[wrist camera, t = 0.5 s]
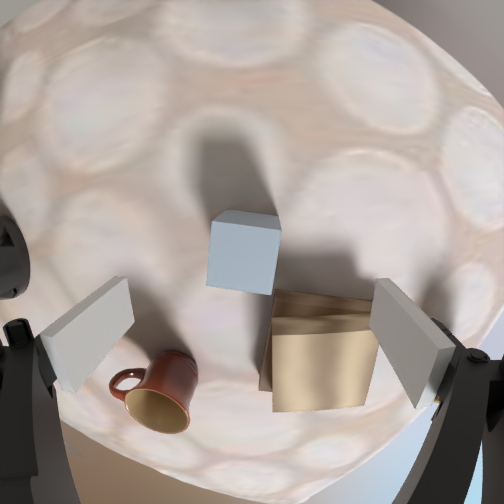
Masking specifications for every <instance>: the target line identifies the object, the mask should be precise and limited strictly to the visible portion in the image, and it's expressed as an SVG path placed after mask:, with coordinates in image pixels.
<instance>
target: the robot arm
mask: <svg viewBox="0 0 504 504" xmlns="http://www.w3.org/2000/svg"><path fill="white" fill-rule="evenodd" d="M29 279H30V263H29V256H28V251H27V248H26V244H25V242H24V239H23V237H22V234H21V232H20V231H19V229H18V227H17V226H16V224H15V223H14V222H13V221H12V220H11V219H10V218H8V217H6V216H0V300H4V299H12V298H15V297H17V296H19V295H20V294H22V293H23V292H25V290H26V289H27V287H28V284H29ZM134 322H135V320H134V315H133V310H132V305H131V299H130V294H129V288H128V282H127V277H118V276H115V277H114V278H112V279H111V280H110V281H108V282H107V283H105V284H104V285H103V286H101V287H100V288H99V289H97V290H96V291H94V292H93V293H92V294H90V295H89V296H88V297H86V298H85V299H84V300H82V301H81V302H80V303H78V304H77V305H76V306H74V307H73V308H72V309H71V310H69V311H68V312H67V313H65V314H64V315H63V316H61V317H60V318H59V319H58V320H56V321H55V322H54V323H52V324H51V325H50V326H49V327H47V328H46V329H45V330H44V331H42V332H41V333H40V334H39V335H38V336H36V337H35V338H34V337H33V334H32V331H31V328H30V325H29V322H28V320H27V319H23V318H20V319H15V320H12V321H10V322H8V323H7V324H5V325H4V327H3V331H4V333H5V336H6V339H7V341H8V344H9V346H3V344H2V342H1V339H0V504H81V503H80V500H79V497H78V494H77V492H76V488H75V485H74V481H73V478H72V475H71V471H70V467H69V463H68V459H67V455H66V451H65V446H64V441H63V436H62V430H61V425H60V418H59V412H58V404H57V396H56V389H55V387H54V385H53V383H54V382H55V380H56V379H57V380H58V382H59V384H60V386H61V388H62V390H65V391H68V392H71V393H74V394H76V392H77V391H78V390H79V388H80V387H81V386H82V385H83V383H84V382H85V381H86V380H87V378H88V377H89V376H90V375H91V373H92V372H93V371H94V370H95V369H96V367H97V366H98V365H99V364H100V362H101V361H102V360H103V359H104V358H105V356H106V355H107V354H108V353H109V352H110V350H111V349H112V348H113V347H114V346H115V344H116V343H117V342H118V341H119V340H120V338H121V337H122V336H123V335H124V334H125V333H126V331H127V330H128V329H129V328H130V327H131V326H132V324H133V323H134ZM369 327H370V329H371V330H372V332H373V334H374V336H375V337H376V339H377V341H378V342H379V344H380V346H381V348H382V349H383V351H384V353H385V355H386V356H387V358H388V360H389V362H390V363H391V365H392V367H393V369H394V371H395V372H396V374H397V376H398V378H399V380H400V382H401V383H402V385H403V387H404V389H405V391H406V393H407V395H408V396H409V398H410V400H411V402H412V404H413V406H414V408H415V409H419V408H423V407H427V406H431V405H432V403H433V401H434V399H435V397H436V395H437V394H438V396H439V397H440V399H441V401H440V403H439V406H438V408H437V410H436V411H435V413H434V415H433V417H432V419H431V420H432V424H431V426H430V429H429V432H428V434H427V436H426V439H425V441H424V443H423V446H422V448H421V450H420V452H419V454H418V456H417V459H416V461H415V463H414V465H413V467H412V469H411V471H410V473H409V475H408V476H407V478H406V480H405V482H404V484H403V486H402V487H401V489H400V491H399V493H398V494H397V496H396V498H395V500H394V501H393V503H392V504H464V501H465V498H466V495H467V492H468V489H469V486H470V483H471V480H472V477H473V473H474V470H475V466H476V462H477V458H478V454H479V450H480V446H481V441H482V452H483V483H482V501H481V504H504V355H503V357H502V360H490V357H489V356H488V355H487V354H486V353H485V352H483V351H482V350H479V349H475V348H468V349H466V348H465V347H464V346H463V345H462V343H461V342H460V341H459V340H458V339H457V338H456V337H455V336H454V335H452V333H451V332H450V331H449V330H447V328H446V327H445V326H444V325H443V324H442V323H441V322H439V321H437V320H435V319H433V318H429V317H428V316H427V315H426V314H425V313H424V312H423V311H422V310H421V309H420V308H419V307H418V306H417V305H416V304H415V303H414V302H413V301H412V300H411V299H410V298H409V297H408V296H407V295H406V294H405V293H404V292H403V291H402V290H401V289H400V288H399V287H398V286H397V285H396V284H395V283H394V282H392V281H391V280H390V279H389V278H380V279H376V282H375V290H374V297H373V303H372V310H371V316H370V321H369Z"/></svg>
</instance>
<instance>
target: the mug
mask: <svg viewBox="0 0 504 504" xmlns="http://www.w3.org/2000/svg"><path fill="white" fill-rule="evenodd" d="M127 378H138V379H141V381H140V382H139V383H138V384H137V385H136V386H135V387H133V388H132V389H130V390H118V389H116V387H117V386H118V384H119V383H120V382H121V381H123V380H125V379H127ZM197 383H198V369H197V366H196V364H195V363H194V362H193V361H192V360H191V359H190V358H189V357H188V356H186V355H185V354H183V353H180V352H177V351H164V352H161V353H159V354H158V355H157V356H155V357H154V359H153V360H152V361H151V362H150V364H149V366H148V367H147V368H146V369H144V368H134V369H126V370H123V371H120V372H119V373H117V374H116V375H115V376H114V377H113V378H112V379H111V381H110V383H109V390H110V393H111V394H112V395H113V396H114V397H115V398H117V399H120V400H122V401H124V403H125V406H126V409H127V411H128V412H129V413H130V415H131V416H132V417H133V418H134V419H135V420H137V421H138V422H139V423H140V424H142V425H143V426H145V427H147V428H149V429H151V430H154V431H157V432H160V433H165V434H176V433H180V432H183V431H184V430H186V429H187V428H188V426H189V423H190V415H189V405H190V402H191V399H192V397H193V394H194V391H195V388H196V387H197Z"/></svg>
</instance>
